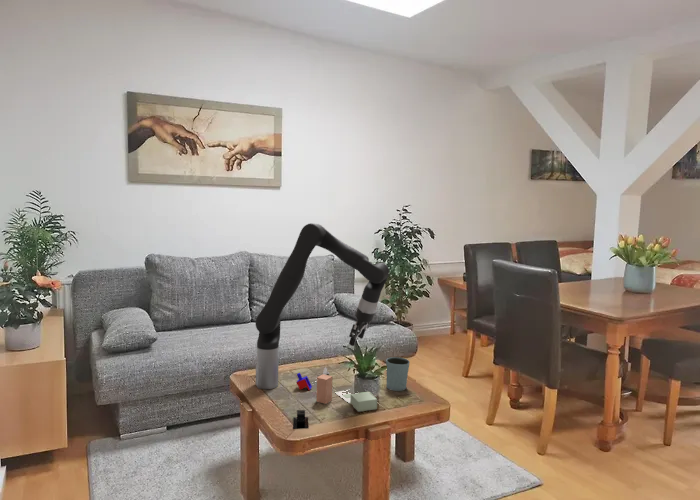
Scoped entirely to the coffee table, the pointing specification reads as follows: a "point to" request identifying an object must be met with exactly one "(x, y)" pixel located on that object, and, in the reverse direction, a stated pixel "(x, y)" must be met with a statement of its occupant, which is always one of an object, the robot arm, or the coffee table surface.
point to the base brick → (363, 401)
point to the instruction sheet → (344, 395)
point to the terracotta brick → (324, 388)
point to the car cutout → (325, 371)
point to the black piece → (300, 420)
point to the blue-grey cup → (397, 373)
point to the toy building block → (303, 382)
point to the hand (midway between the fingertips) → (355, 341)
